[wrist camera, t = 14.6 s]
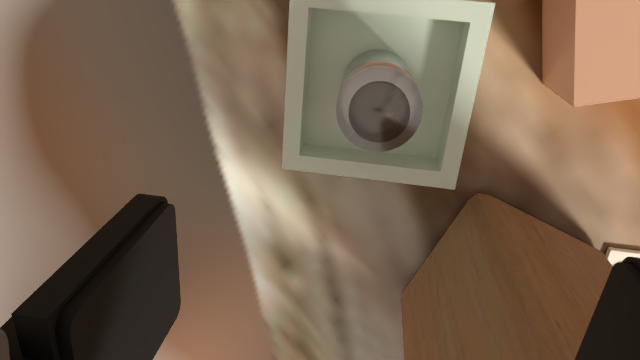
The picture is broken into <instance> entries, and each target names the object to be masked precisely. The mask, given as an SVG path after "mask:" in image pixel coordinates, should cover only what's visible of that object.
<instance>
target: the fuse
mask: <svg viewBox="0 0 640 360" xmlns="http://www.w3.org/2000/svg"><path fill="white" fill-rule="evenodd" d="M422 114H423V104H422V99H421V95H420V93H419V90H418V88H417V86H416V84H415V82H414V79H413V77H412V75H411V73H410V71H409V68H408V67H407V65H406V63H405V62H404V61H403V60H402V59H401V58H400V57H399V56H398V55H396V54H394V53H392V52H390V51H387V50H381V49H374V50H369V51H366V52H363V53H361V54H359V55H358V56H356V57H355V58H354V59H353V60H352V61H351V62H350V63H349V65H348V66H347V68H346V70H345V72H344V75H343V79H342V83H341V87H340V91H339V95H338V100H337V104H336V117H337V122H338V125H339V127H340V129H341V131H342V133H343V134H344V136H345V137H346V138H347V139H348V140H349V141H350V142H351V143H353V144H354V145H355V146H357V147H359V148H361V149H364V150H368V151H373V152H384V151H389V150H393V149H395V148H398V147H400V146H401V145H403V144H404V143H406V142H407V141H408V140H409V139H410V138H411V137H412V136H413V135H414V134H415V132H416V131H417V129H418V127H419V125H420V122H421V119H422Z"/></svg>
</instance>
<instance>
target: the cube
mask: <svg viewBox="0 0 640 360" xmlns="http://www.w3.org/2000/svg"><path fill="white" fill-rule="evenodd" d="M542 78H543V84H544V85H545V86H546V87H548V88H549V89H550V90H552V91H553V92H554V93H556V94H557V95H558V96H560V97H561V98H562V99H564V100H565V101H566V102H568V103H569V104H570V105H572V106H573V107H578V106H585V105H592V104H600V103H607V102H614V101H621V100H629V99H636V98H640V0H542Z"/></svg>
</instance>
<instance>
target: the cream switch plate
mask: <svg viewBox="0 0 640 360" xmlns="http://www.w3.org/2000/svg"><path fill="white" fill-rule="evenodd" d="M605 257H606V258H607V259H608V261H609V262H610V263H611V265H612V266H613V265H614V264H615V263H618V262H621V263H622V261H623V260H624V259H625V258H626V257H637V258H640V251H636V250H628V249H620V248H612V247H608V249H607V252H606V254H605Z"/></svg>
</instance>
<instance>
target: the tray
mask: <svg viewBox="0 0 640 360" xmlns="http://www.w3.org/2000/svg"><path fill="white" fill-rule="evenodd" d="M494 8H495V3H494V2H491V1H488V0H290V2H289V23H288V44H287V65H286V86H285V107H284V128H283V149H282V169H285V170H293V171H302V172H310V173H319V174H327V175H335V176H344V177H352V178H361V179H369V180H377V181H386V182H394V183H403V184H411V185H420V186H428V187H436V188H445V189H453V190H455V187H456V182H457V178H458V173H459V169H460V164H461V159H462V155H463V150H464V146H465V141H466V136H467V132H468V127H469V123H470V118H471V113H472V109H473V104H474V100H475V95H476V90H477V86H478V81H479V77H480V72H481V67H482V63H483V58H484V54H485V49H486V44H487V40H488V35H489V31H490V26H491V21H492V17H493V12H494ZM374 49H381V50H387V51H390V52H392V53H394V54H396V55H398V56H399V57H400V58H401V59H402V60H403V61H404V62H405V63H406V65H407V67H408V68H409V71H410V73H411V75H412V77H413V79H414V82H415V84H416V86H417V88H418V90H419V93H420V95H421V99H422V104H423V114H422V119H421V122H420V125H419V127H418V129H417V131H416V132H415V134H414V135H413V136H412V137H411V138H410V139H409V140H408V141H407V142H406V143H404V144H403V145H401V146H400V147H398V148H395V149H393V150H389V151H384V152H373V151H368V150H364V149H361V148H359V147H357V146H355V145H354V144H353V143H351V142H350V141H349V140H348V139H347V138H346V137H345V136H344V134H343V133H342V131H341V129H340V127H339V125H338V122H337V117H336V104H337V100H338V95H339V91H340V87H341V83H342V79H343V75H344V72H345V70H346V68H347V66H348V65H349V63H350V62H351V61H352V60H353V59H354V58H355V57H356V56H358V55H359V54H361V53H363V52H366V51H369V50H374Z"/></svg>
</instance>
